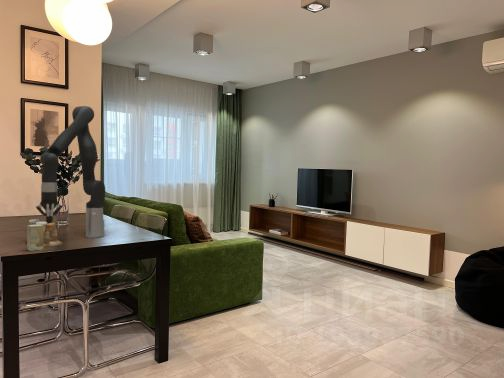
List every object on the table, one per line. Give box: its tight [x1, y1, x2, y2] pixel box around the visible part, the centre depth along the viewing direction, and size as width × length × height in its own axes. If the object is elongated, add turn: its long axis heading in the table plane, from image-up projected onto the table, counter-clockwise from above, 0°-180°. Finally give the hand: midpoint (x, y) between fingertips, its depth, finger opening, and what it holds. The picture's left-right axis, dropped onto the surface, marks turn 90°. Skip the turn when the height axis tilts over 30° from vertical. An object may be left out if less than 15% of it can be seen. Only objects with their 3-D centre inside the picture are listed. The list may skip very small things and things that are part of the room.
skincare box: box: [26, 224, 44, 252], centre depth 183 cm, size 6×4×12 cm
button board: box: [25, 227, 63, 248], centre depth 197 cm, size 13×17×7 cm
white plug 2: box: [36, 220, 47, 232], centre depth 192 cm, size 5×5×7 cm
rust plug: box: [45, 221, 55, 231], centre depth 199 cm, size 5×5×7 cm
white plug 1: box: [28, 218, 40, 225], centre depth 198 cm, size 5×5×7 cm
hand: (49, 223), depth 199 cm, fingers closed
